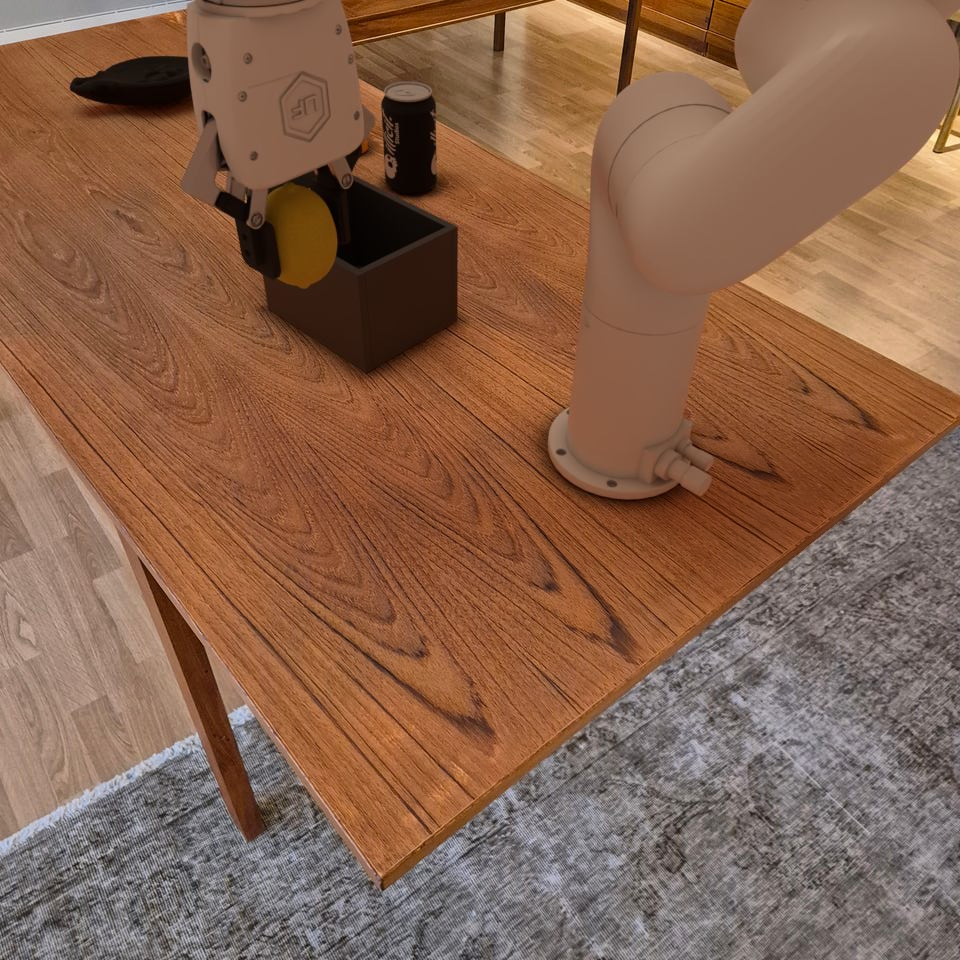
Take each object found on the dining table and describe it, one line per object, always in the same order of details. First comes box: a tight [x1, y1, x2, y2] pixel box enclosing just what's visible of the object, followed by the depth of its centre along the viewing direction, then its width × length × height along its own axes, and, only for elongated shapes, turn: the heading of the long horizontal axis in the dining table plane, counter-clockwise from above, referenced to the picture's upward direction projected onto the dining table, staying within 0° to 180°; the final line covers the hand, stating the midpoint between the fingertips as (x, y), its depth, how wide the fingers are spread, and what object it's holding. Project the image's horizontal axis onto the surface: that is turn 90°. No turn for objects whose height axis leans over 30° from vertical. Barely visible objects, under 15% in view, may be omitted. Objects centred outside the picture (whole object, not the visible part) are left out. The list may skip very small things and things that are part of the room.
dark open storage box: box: [261, 174, 459, 374], centre depth 89 cm, size 16×13×11 cm
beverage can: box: [380, 81, 438, 196], centre depth 110 cm, size 7×7×12 cm
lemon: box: [265, 182, 337, 289], centre depth 62 cm, size 6×6×8 cm
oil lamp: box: [69, 55, 192, 108], centre depth 130 cm, size 15×20×5 cm
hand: (299, 251), depth 63 cm, fingers closed on lemon, 5 cm apart
